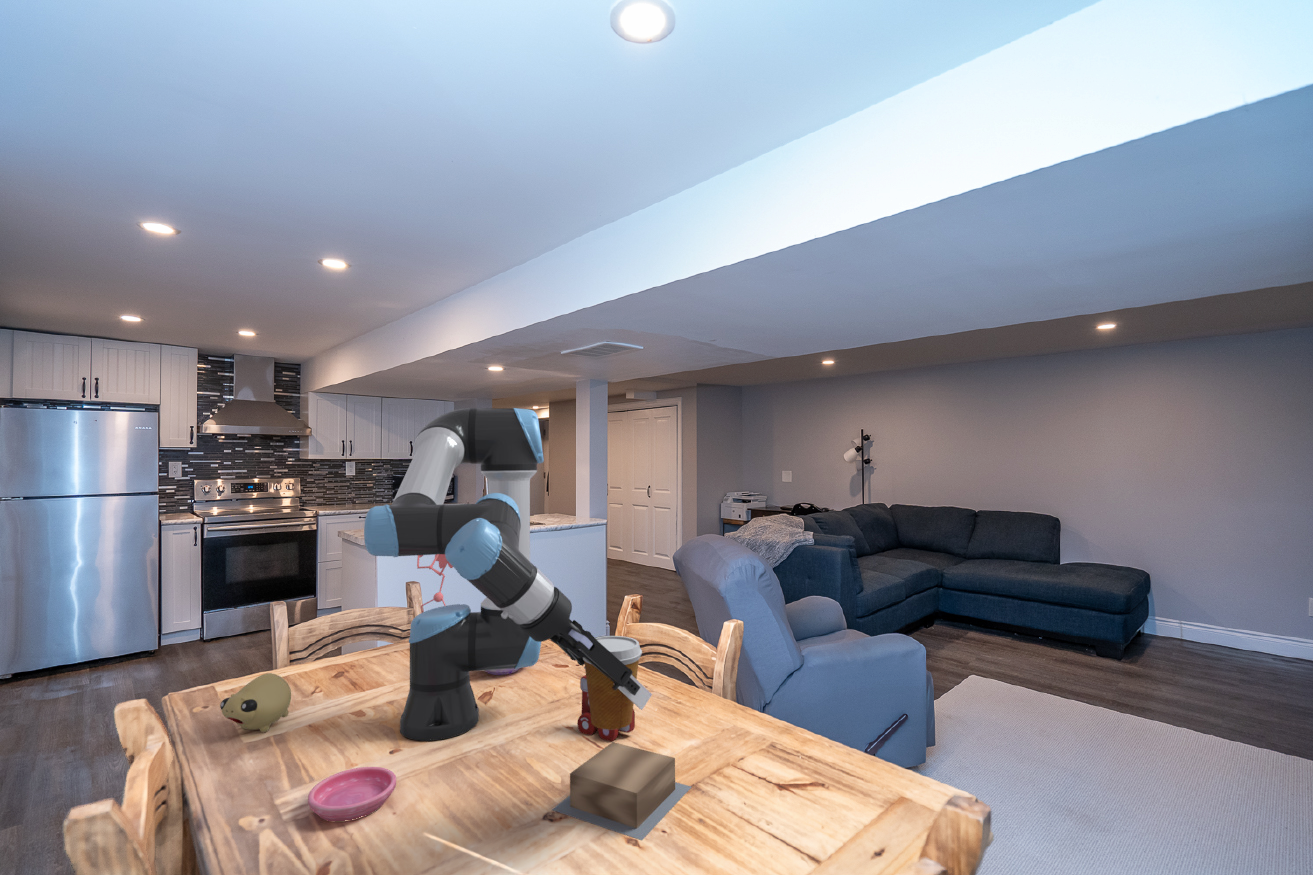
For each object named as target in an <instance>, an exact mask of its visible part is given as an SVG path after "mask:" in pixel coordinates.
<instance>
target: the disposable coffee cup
mask: <svg viewBox="0 0 1313 875" xmlns="http://www.w3.org/2000/svg"><path fill="white" fill-rule="evenodd" d="M594 638H595V639H596V640H597V641H598V642H599V643H601V644H602V645H603V646H604V647H605V648H606V649H607V650H608V651H610V652H611V653H612V654H613V655H614V656H615V657H616V658H617V659H619V660H620V661H621V662H622V663H623V664H624V665H625V666H626V667H628V668H630V669H631V671H632V672H633V673H632V676H633V677H635V678H636V679H637V680H638V671H639V662H640V659H641V656H642V654H643V649H641V647H640V641H638V640H637V639H636V638H632V637H631V636H630V637H628V636H622V635H604V636H598V637H594ZM583 660H584V663H585V664H584V666H585V669H584V670H585V675H586V680H587V688H588V697H589V706H590V714H591V723H592V724H593V725H594V726H595V727H597V729H598V728H601V729H608V730H613V729H620V728H624V727H626V726H628V725H629V724H630V723H631V722H632V713H633V709H634V705H635V704H634V703H633V702H632V701H631V700H630V699H629V698H627V697H626V696H625V695H624V694H623V693H622V692H621V691H620V690H619V689H618V688H617V690H614V689H613V688H612V687H613V686H614V682H613V681H611V680H610V679H609V678H608V677H607V676H605V675H604V674H603V673H602V672H601V671H599V670H598V669H597V668H596V667H594V666H593V665H592V664H591V663H590V662H588V661H587V660H586V659H585V658H583Z"/></svg>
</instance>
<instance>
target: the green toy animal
mask: <svg viewBox="0 0 1313 875" xmlns="http://www.w3.org/2000/svg"><path fill="white" fill-rule="evenodd" d="M291 700H292V690H291V687H290V685H289V683H288V682H287V680H285V679H284V677H282V676H280V675H278V674H276V673H272V672H270V673H269V672H267V673H264V674H261V675H259V676H257V677H256V678H254V679H253V680H251V681H250V682H248V683H247V684H246V685H244V686H243V687H242V688H240V689H239V691H238V692H236V693H233V694H231V695H230V697H226V698H224V699H222V701H221V702H220V704H219V707H220V710H221V714H222V715H223V717H225V718H226V719H228V720H230V721H232V722H234V723H236V724H237V725H238V726H239V727H240V728H241V729H242V730H250V731H255V730H259V732H261V733H263V734H264V733H267V732H268V731H269V728H270V727H271V725H272V724H274V723H275V722H277V721H279V719H281V718H286V717H287V716H288V715H289V713H290V712H289V710H288V709H289V706H290V704H291Z"/></svg>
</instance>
